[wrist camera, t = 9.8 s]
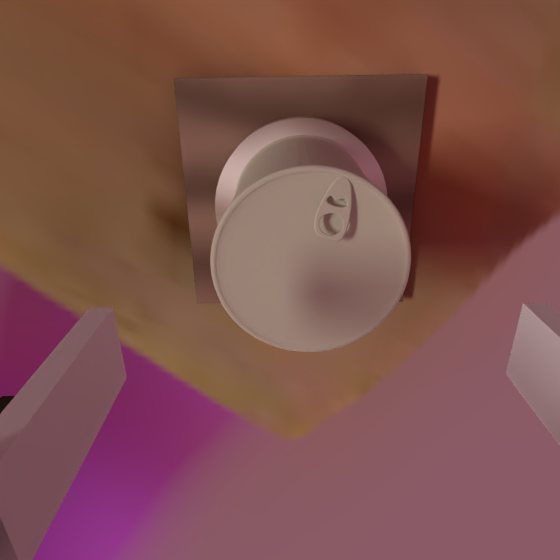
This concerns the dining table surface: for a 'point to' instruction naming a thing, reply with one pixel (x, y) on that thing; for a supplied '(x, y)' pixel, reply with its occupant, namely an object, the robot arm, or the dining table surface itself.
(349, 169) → the can
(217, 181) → the stand
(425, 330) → the dining table surface
